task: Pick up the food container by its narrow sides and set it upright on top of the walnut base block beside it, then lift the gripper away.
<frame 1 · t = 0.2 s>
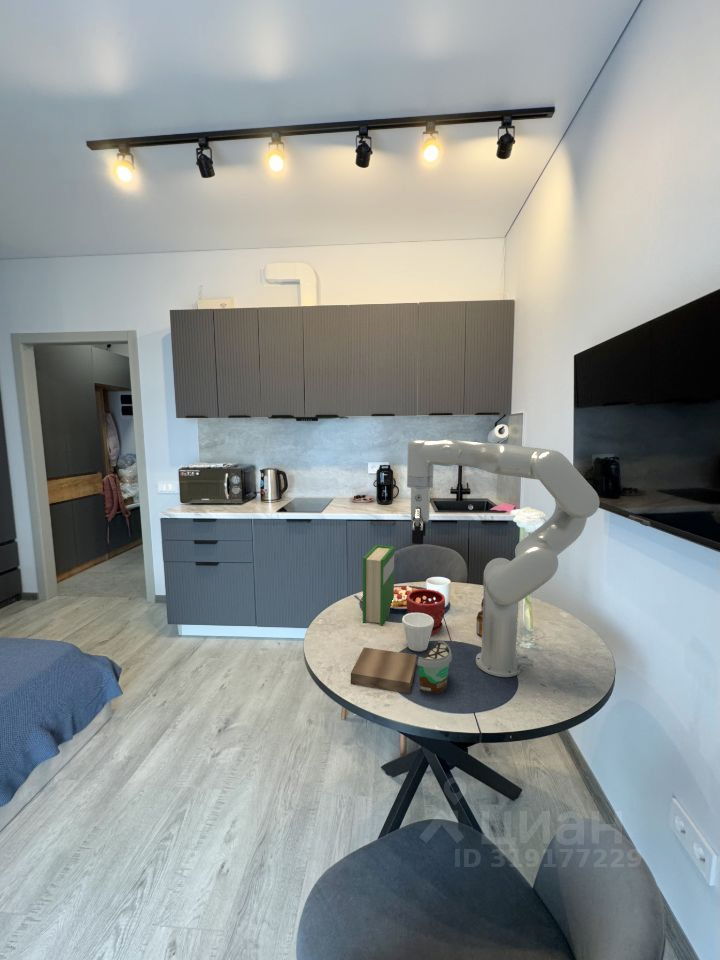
hand: (418, 539, 120), 36 cm above the table, tool pointing down, fingers open, 9 cm apart
plant pot: (425, 629, 141), on the table
walnut base: (384, 673, 114), on the table
food container: (438, 687, 109), on the table
hardback book: (378, 614, 152), on the table
cup: (417, 647, 129), on the table
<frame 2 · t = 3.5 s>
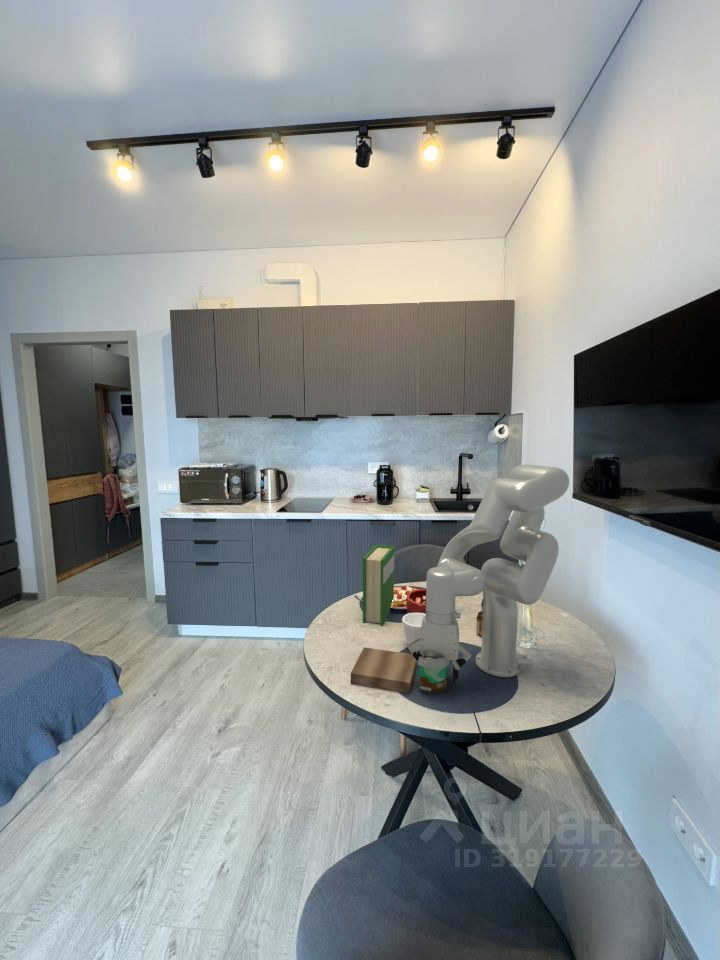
hand: (438, 678, 108), 2 cm above the table, tool pointing down, fingers open, 7 cm apart
food container: (438, 687, 109), on the table, touching gripper
everything else where it was.
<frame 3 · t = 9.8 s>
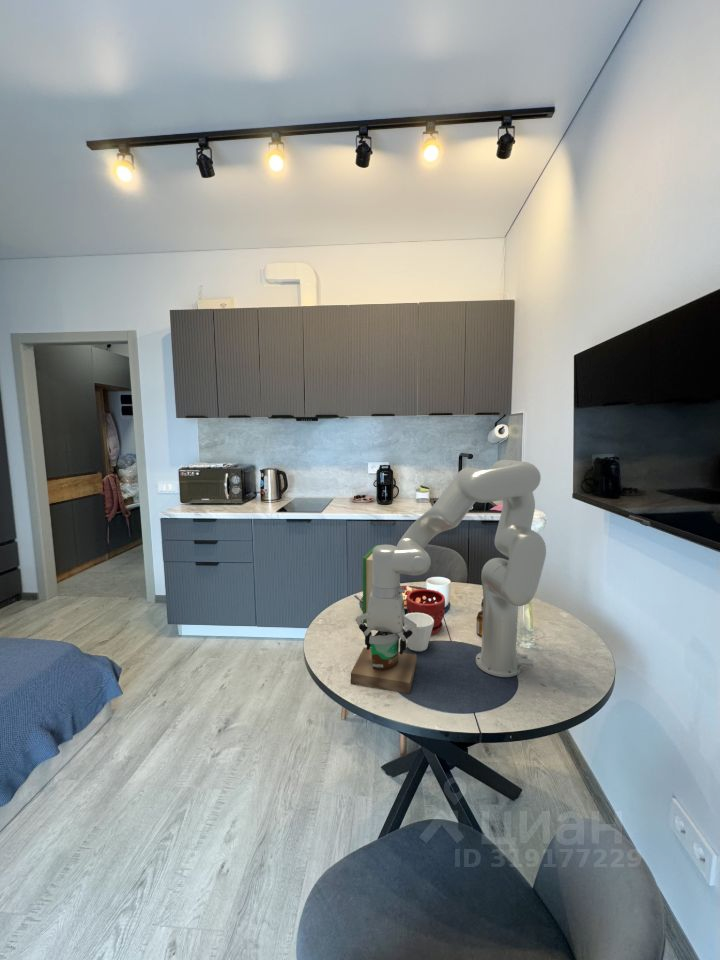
hand: (385, 649, 114), 7 cm above the table, tool pointing down, fingers open, 9 cm apart
food container: (390, 664, 114), point 3 cm above the table, touching gripper, walnut base
everything else where it was.
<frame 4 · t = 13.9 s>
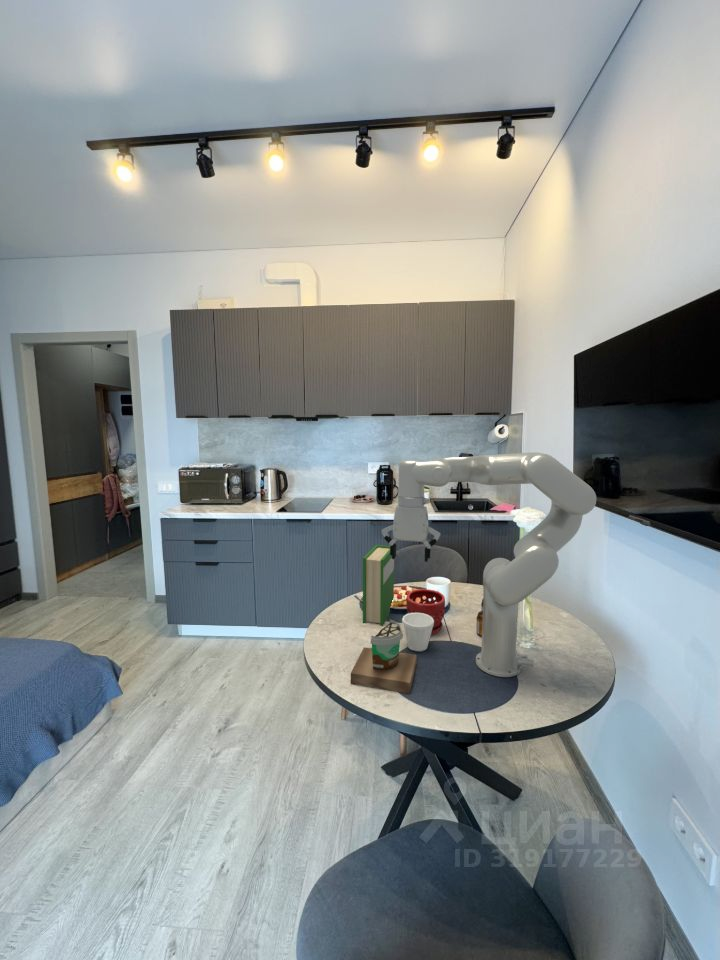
hand: (410, 559, 120), 30 cm above the table, tool pointing down, fingers open, 9 cm apart
food container: (390, 664, 114), point 3 cm above the table, touching walnut base
everything else where it was.
at the end: food container inside the target area on the walnut base (1.5 cm from its centre), point 2.8 cm above the walnut base's base; food container tilted 0°; the gripper is holding nothing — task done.
